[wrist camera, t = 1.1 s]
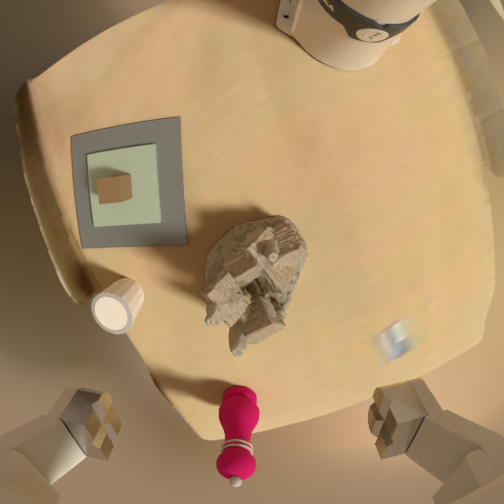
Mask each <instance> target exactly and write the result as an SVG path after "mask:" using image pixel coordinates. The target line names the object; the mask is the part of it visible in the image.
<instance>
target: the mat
mask: <svg viewBox="0 0 504 504" xmlns="http://www.w3.org/2000/svg"><path fill="white" fill-rule="evenodd" d="M151 144H156V150H157V170H158V185H159V198H160V210H161V221H162V222H160V223H149V224H132V225H117V226H102V227H94V223H93V215H92V207H91V198H90V188H89V176H88V161H87V155H89V154H94V153H99V152H105V151H111V150H117V149H123V148H129V147H136V146H143V145H151ZM71 145H72V166H73V180H74V191H75V201H76V209H77V217H78V224H79V231H80V237H81V243H82V249H83V248H107V247H133V246H161V245H187V244H188V240H187V229H186V216H185V203H184V188H183V171H182V149H181V118H180V117H175V118H167V119H160V120H152V121H146V122H139V123H133V124H128V125H122V126H117V127H112V128H107V129H102V130H97V131H93V132H88V133H84V134H80V135H76V136H72V137H71Z"/></svg>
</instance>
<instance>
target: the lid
mask: <svg viewBox="0 0 504 504" xmlns="http://www.w3.org/2000/svg"><path fill="white" fill-rule="evenodd" d="M87 161H88V176H89V188H90V198H91V207H92V215H93V223H94V227H102V226H117V225H132V224H149V223H160V222H162V221H161V210H160V198H159V185H158V170H157V150H156V144H151V145H143V146H136V147H129V148H123V149H117V150H111V151H105V152H99V153H94V154H89V155H87Z"/></svg>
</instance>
